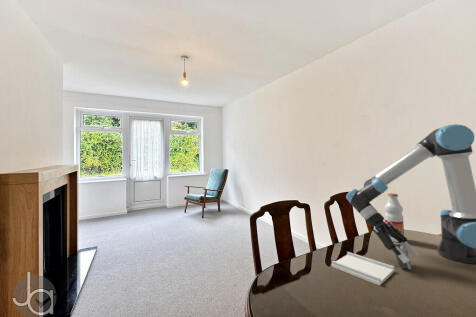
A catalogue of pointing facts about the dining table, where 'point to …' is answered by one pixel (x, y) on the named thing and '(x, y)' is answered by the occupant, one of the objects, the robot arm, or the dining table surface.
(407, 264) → the electrical switch
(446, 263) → the dining table surface
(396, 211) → the fruit juice
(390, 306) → the dining table surface
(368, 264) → the white tray
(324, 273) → the dining table surface
